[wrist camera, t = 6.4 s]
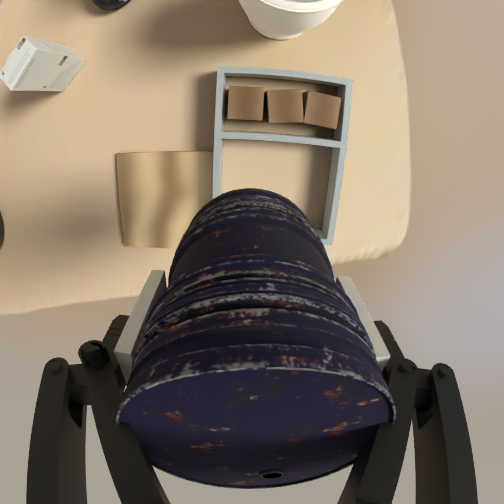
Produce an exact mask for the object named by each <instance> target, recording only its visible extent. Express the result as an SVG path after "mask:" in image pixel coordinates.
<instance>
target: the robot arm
mask: <svg viewBox="0 0 504 504" xmlns="http://www.w3.org/2000/svg"><path fill="white" fill-rule="evenodd" d="M3 240H4V226H3V220H2V216H1V212H0V249H1V247H2V244H3ZM336 284H337V285H338V286H339V287H340V288H341V289H342V290H343V291H344V293H345V294H346V295H347V296H348V297H349V298H350V300H351V301H352V303H353V305H354V306H355V308H356V310H357V312H358V315H359V318H360V321H361V322H362V324H363V325H364V327H365V329H366V332H367V333H368V336H369V338H370V340H371V342H372V344H373V347H374V351H375V354H376V360H377V362H378V365H379V367H380V370H381V373H382V377H383V380H384V381H385V383H386V384H387V386H388V389H389V391H390V393H391V396H392V398H393V401H394V404H395V409H396V418H395V423H394V424H392V422H391V421H388V422H383V423H379V425H378V426H377V428H376V429H375V430H374V432H373V433H372V434H371V436H370V437H369V438H368V440H367V441H366V442H365V444H364V445H363V446H362V448H361V449H360V450H359V451H358V454H357V456H356V459H355V462H354V464H353V467H352V470H351V472H350V475H349V477H348V480H347V482H346V485H345V487H344V490H343V492H342V494H341V497H340V499H339V501H338V503H337V504H392V500H393V497H394V493H395V490H396V486H397V483H398V479H399V476H400V472H401V468H402V464H403V460H404V455H405V451H406V446H407V441H408V437H409V431H410V426H411V420H412V423H413V434H414V448H415V470H416V504H478V499H477V487H476V477H475V469H474V462H473V455H472V448H471V443H470V437H469V432H468V427H467V422H466V418H465V413H464V409H463V405H462V400H461V397H460V393H459V389H458V385H457V381H456V378H455V375H454V372H453V370H452V369H451V368H450V367H449V366H448V365H446V364H443V363H437V364H435V365H434V366H433V368H432V369H431V370H427V369H420V368H417V366H416V365H415V363H413V362H412V361H411V360H409V359H405V358H404V356H403V354H402V352H401V350H400V348H399V346H398V345H397V342H396V341H395V340H394V337H393V335H392V333H391V331H390V330H389V328H388V326H387V325H386V324H385V323H383V322H382V321H373V320H372V318H371V316H370V314H369V312H368V310H367V309H366V307H365V305H364V303H363V301H362V299H361V297H360V295H359V293H358V291H357V290H356V288H355V286H354V284H353V282H352V281H351V279H350V277H349V276H337V279H336ZM166 288H167V286H166V278H165V271H163V270H152V271H151V273H150V275H149V277H148V279H147V281H146V283H145V285H144V287H143V289H142V291H141V293H140V295H139V297H138V300H137V302H136V304H135V306H134V308H133V310H132V312H131V314H130V316H127V315H119V316H117V317H116V318H115V319H114V320H113V321H112V323H111V325H110V327H109V329H108V331H107V333H106V335H105V337H104V339H103V341H102V342H101V341H98V340H92V341H88V342H85V343H84V344H83V345H81V347H80V348H79V351H78V354H79V357H80V359H81V362H82V364H74V365H69V364H68V362H67V361H66V360H65V359H63V358H53V359H51V360H49V361H48V362H47V363H46V365H45V367H44V371H43V374H42V379H41V383H40V388H39V392H38V398H37V402H36V408H35V413H34V419H33V426H32V433H31V440H30V449H29V459H28V471H27V495H26V496H27V497H26V504H87V494H86V470H85V437H86V414H87V413H86V412H87V405H91V406H92V411H93V415H94V419H95V423H96V427H97V431H98V435H99V438H100V442H101V445H102V449H103V452H104V455H105V458H106V462H107V465H108V468H109V471H110V474H111V476H112V479H113V482H114V485H115V487H116V490H117V493H118V495H119V498H120V500H121V503H122V504H170V502H169V500H168V498H167V496H166V494H165V492H164V490H163V488H162V486H161V484H160V482H159V480H158V478H157V476H156V473H155V471H154V469H153V467H152V464H151V462H150V460H149V458H148V455H147V453H146V451H145V449H144V448H143V446H142V444H141V442H140V441H139V439H138V437H137V435H136V433H135V431H134V430H133V428H132V426H131V424H130V423H125V422H120V421H119V425H117V424H116V417H117V414H118V410H119V407H120V404H121V401H122V398H123V395H124V389H125V386H127V383H128V380H129V377H130V374H131V371H132V360H133V357H134V354H135V351H136V348H137V345H138V342H139V340H140V337H141V335H142V332H143V330H144V328H145V324H146V321H147V318H148V315H149V313H150V311H151V309H152V307H153V306H154V304H155V303H156V301H157V300H158V298H159V297H160V296H161V295H162V293H163V292H164V291H165V290H166Z"/></svg>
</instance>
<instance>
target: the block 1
mask: <svg viewBox="0 0 504 504" xmlns="http://www.w3.org/2000/svg"><path fill="white" fill-rule="evenodd" d="M263 102H264V88H262V87H243V86H229V98H228V117H227V119H243V120H261V121H262V117H263Z"/></svg>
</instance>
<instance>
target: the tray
mask: <svg viewBox="0 0 504 504" xmlns="http://www.w3.org/2000/svg"><path fill="white" fill-rule="evenodd" d="M226 76H238V77H259V78H273V79H284V80H294V81H302V82H310V83H317V84H324V85H331V86H337V87H338V95H337V97H340V98H341V104H340V110H339V116H338V122H337V128H336V129H334V139H330V138H322V137H313V136H304V135H294V134H283V133H270V132H255V131H233V130H224V111H225V91H226ZM352 82H353V80H350V79H345V78H339V77H334V76H328V75H321V74H315V73H307V72H299V71H291V70H281V69H269V68H254V67H222V66H218V69H217V86H216V105H215V128H214V158H213V198H215V197H217V196H219V195H221V190H222V158H223V138H224V139H249V140H266V141H280V142H292V143H302V144H312V145H321V146H329V147H333V148H332V157H331V166H330V174H329V182H328V189H327V197H326V204H325V211H324V218H323V224H322V230H318V229H315V231H316V232H317V234H318V235H319V237H320V239H321V241H322V243H323V245H332V241H333V235H334V230H335V224H336V218H337V212H338V205H339V199H340V192H341V185H342V178H343V171H344V163H345V155H346V147H347V138H348V128H349V118H350V107H351V95H352Z"/></svg>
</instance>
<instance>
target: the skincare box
mask: <svg viewBox="0 0 504 504" xmlns="http://www.w3.org/2000/svg"><path fill="white" fill-rule="evenodd" d="M84 63H85V60H84V59H83V58H82V57H81V56H80V55H79V54H78V53H77V52H76V51H75V50H74V49H73V48H71V47H67V46H64V45H60V44H56V43H53V42H49V41H45V40H41V39H36V38H32V37H28V36H22V38H21V39H20V41H19V42H18V44H17V45H16V47H15V48H14V49H13V51H12V52H11V53H10V55H9V56H8V58H7V60H6V62H5V64H4V66H3V68H2V69H1V71H0V79H1V80H2V81H3V82H4V83H5V85H6V86H7V87H8V88H9V89H10V90H11V91H60V92H62V91H63V90H64V89H65V88H66V87H67V85H68V84H69V83H70V82H71V80H72V79H73V78H74V76H75V75H76V74H77V72H78V71H79V70H80V68H81V67H82V66H83V65H84Z"/></svg>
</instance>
